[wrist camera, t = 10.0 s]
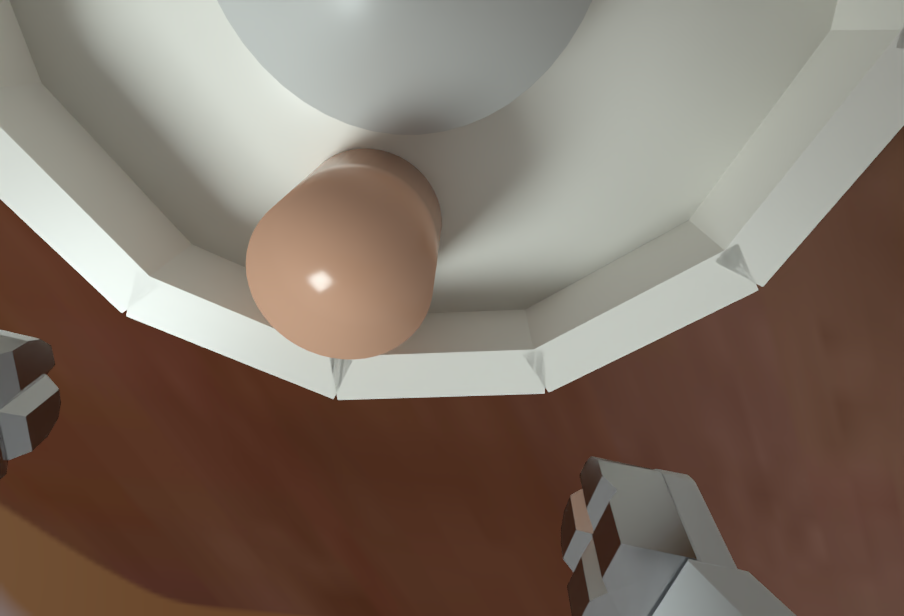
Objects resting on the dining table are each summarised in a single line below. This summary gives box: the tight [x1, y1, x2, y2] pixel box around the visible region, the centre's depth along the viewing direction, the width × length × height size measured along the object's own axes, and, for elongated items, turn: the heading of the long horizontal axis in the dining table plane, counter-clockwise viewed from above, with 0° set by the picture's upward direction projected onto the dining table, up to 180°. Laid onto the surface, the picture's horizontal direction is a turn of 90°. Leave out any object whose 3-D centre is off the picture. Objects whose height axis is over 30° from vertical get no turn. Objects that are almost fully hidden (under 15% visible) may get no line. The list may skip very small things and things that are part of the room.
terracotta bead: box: [246, 148, 442, 360], centre depth 14 cm, size 4×4×4 cm
